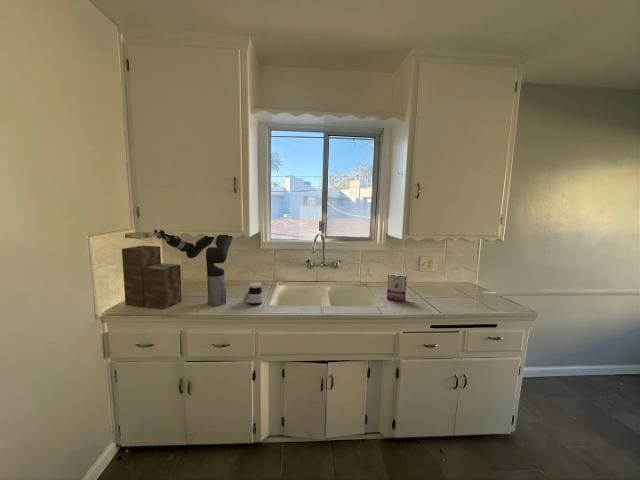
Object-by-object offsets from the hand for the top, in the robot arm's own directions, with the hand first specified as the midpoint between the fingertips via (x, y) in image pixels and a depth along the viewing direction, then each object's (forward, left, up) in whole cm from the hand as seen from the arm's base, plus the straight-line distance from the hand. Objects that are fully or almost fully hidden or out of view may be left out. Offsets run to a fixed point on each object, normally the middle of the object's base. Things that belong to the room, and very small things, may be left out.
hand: (157, 231), depth 160 cm
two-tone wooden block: (+5, +12, -40) cm, 42 cm away
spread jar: (-42, +43, -41) cm, 72 cm away
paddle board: (+4, +3, -2) cm, 6 cm away
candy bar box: (-119, +89, -41) cm, 154 cm away
